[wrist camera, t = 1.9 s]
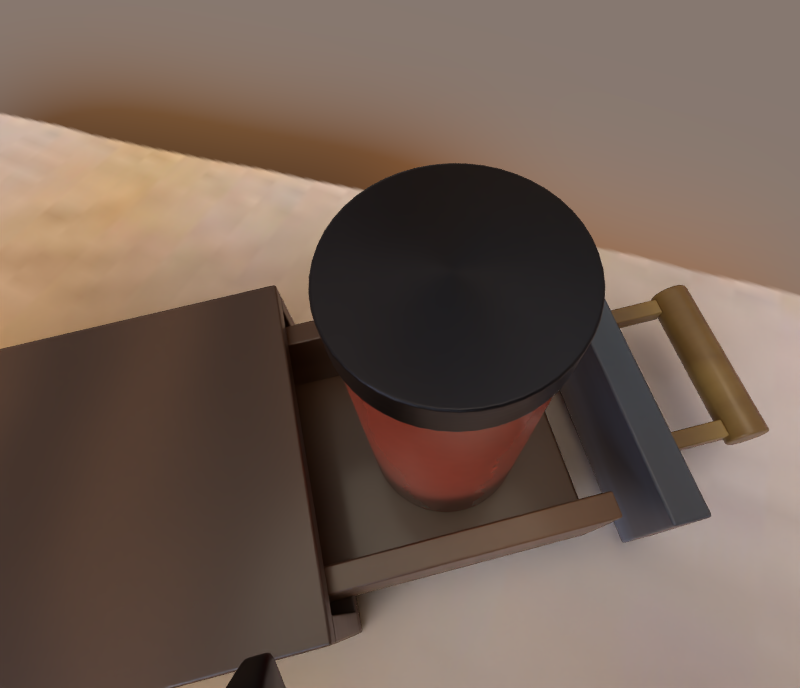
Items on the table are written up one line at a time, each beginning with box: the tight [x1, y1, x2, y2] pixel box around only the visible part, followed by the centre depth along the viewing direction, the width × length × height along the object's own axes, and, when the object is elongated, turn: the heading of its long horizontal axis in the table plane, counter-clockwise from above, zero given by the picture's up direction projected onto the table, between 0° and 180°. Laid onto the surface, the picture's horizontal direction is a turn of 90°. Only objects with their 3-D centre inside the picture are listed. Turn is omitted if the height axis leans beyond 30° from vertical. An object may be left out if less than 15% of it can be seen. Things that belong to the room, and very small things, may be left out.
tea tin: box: [309, 163, 605, 512], centre depth 15 cm, size 6×6×12 cm
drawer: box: [285, 285, 769, 603], centre depth 19 cm, size 20×10×5 cm, turn 104°
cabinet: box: [0, 285, 362, 688], centre depth 18 cm, size 16×11×6 cm
